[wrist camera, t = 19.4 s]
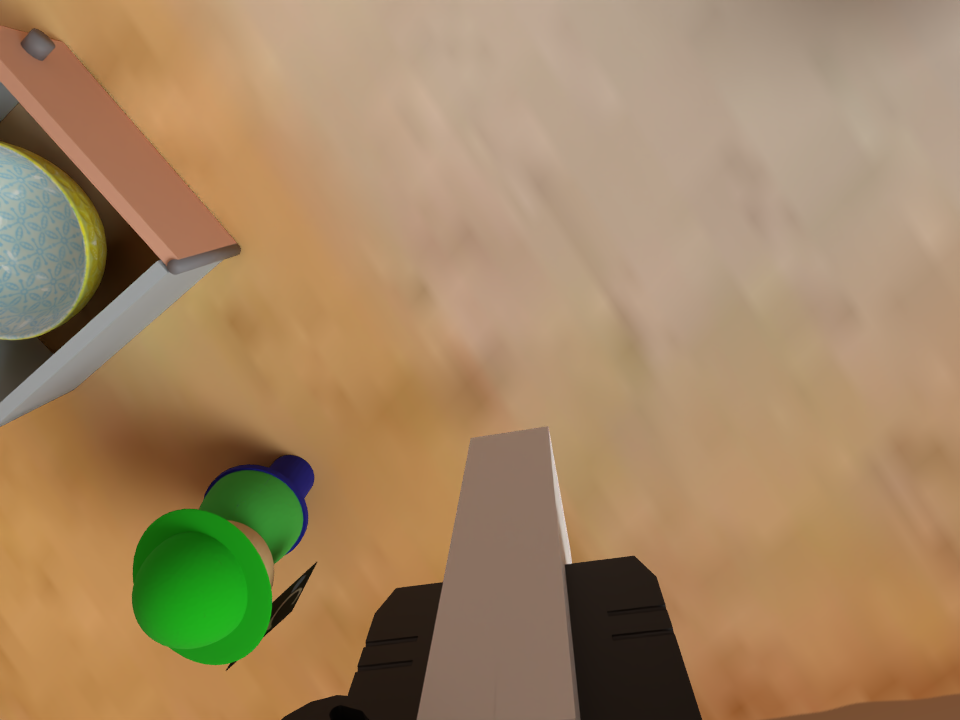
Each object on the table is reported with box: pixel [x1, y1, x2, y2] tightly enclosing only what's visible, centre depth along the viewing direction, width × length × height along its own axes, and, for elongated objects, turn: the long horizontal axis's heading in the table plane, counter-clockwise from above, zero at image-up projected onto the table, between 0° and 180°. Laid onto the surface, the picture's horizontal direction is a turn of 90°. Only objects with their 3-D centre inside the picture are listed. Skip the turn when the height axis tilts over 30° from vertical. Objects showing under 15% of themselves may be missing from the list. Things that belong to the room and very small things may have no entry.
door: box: [0, 26, 241, 275], centre depth 36 cm, size 2×16×7 cm, turn 38°
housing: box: [0, 82, 222, 427], centre depth 38 cm, size 16×16×8 cm
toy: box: [132, 455, 317, 671], centre depth 39 cm, size 9×9×15 cm
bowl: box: [0, 141, 107, 340], centre depth 38 cm, size 11×12×6 cm
